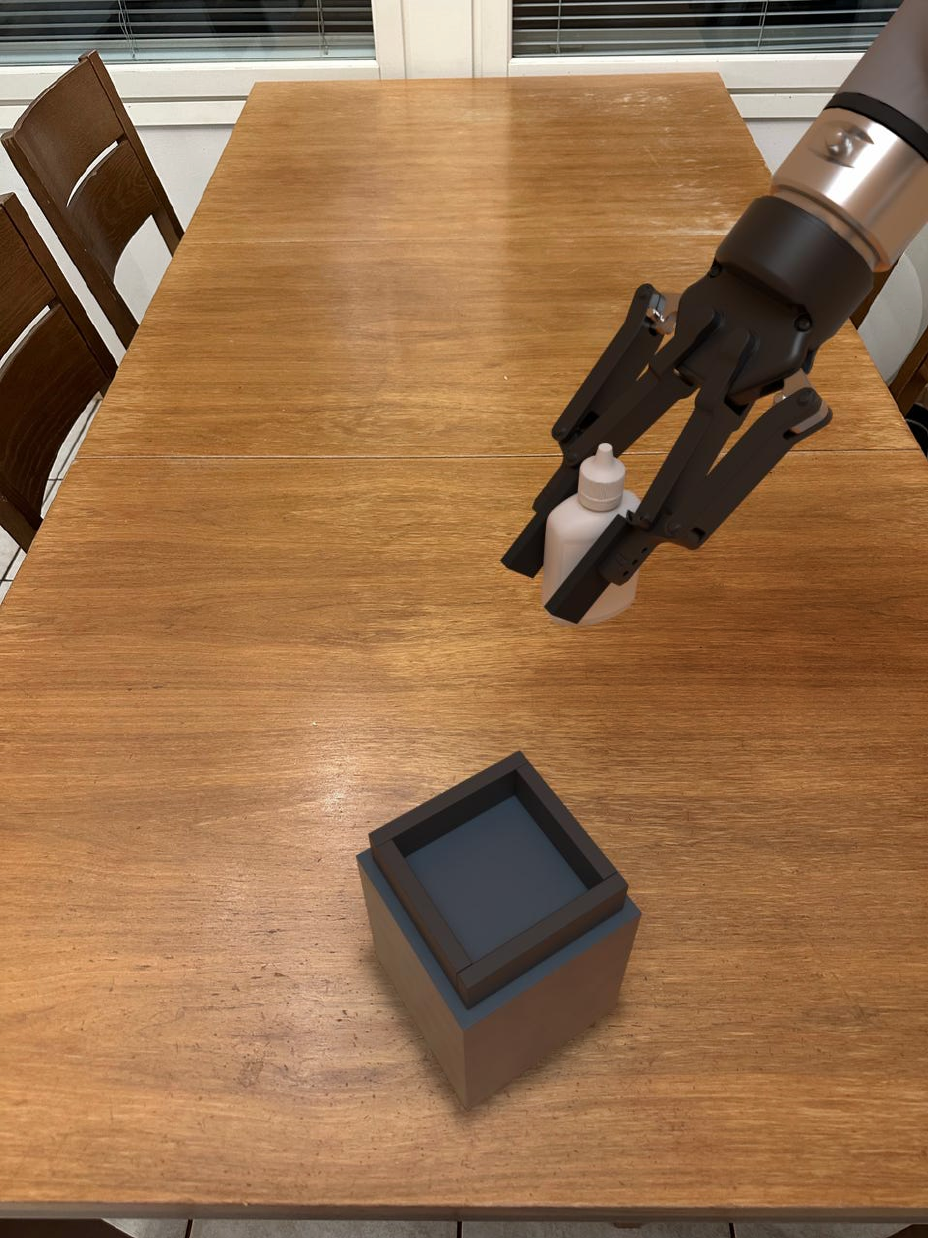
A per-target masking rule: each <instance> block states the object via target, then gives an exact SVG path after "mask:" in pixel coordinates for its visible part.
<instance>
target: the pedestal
mask: <svg viewBox="0 0 928 1238" xmlns="http://www.w3.org/2000/svg"><path fill="white" fill-rule="evenodd" d="M367 835H368V841H369V846H370V847H368V848H366V849H365V850H363V851H361V852H360V853H359V852H358V854H356V855H355V859H356V863H357V869H358V874H359V878H360V883H361V888H362V893H363V897H364V903H365V907H366V912H367V916H368V921H369V927H370V931H371V935H372V940H373V941H372V942H373V945H374V951H375V954H376V958H377V960H378V961H379V963H380V965H381V966H382V968H383V970H384V972H385V974H386V976H387V977H388V979H389V981H390V982H391V984H392V986H393V987H394V989H395V991H396V992H397V994H398V996H399V998H400V999H401V1001H402V1003H403V1005H404V1006H405V1008H406V1010H407V1012H408V1013H409V1015H410V1017H411V1018H412V1021H414V1024H415V1025H416V1027H417V1028H418V1030H419V1032H420V1034H421V1035H422V1038H423V1039H424V1041H425V1042H426V1044H427V1046H428V1047H429V1050H430V1051H431V1053H432V1054H433V1056H434V1057H435V1060H436V1061H437V1063H438V1065H439V1066H440V1068H441V1070H442V1071H443V1073H444V1074H445V1075H444V1076H445V1077H446V1078H447V1080H448V1082H449V1083H450V1085H451V1087H452V1089H453V1090H454V1092H455V1094H456V1095H457V1097H458V1099H459V1101H460V1102H461V1104H462V1106H463V1108H464V1110H465V1111H466V1112H469V1111H471V1110H472V1109H474V1107H476V1106H478V1105H479V1104H481V1103H482V1102H483V1101H485V1100H486V1099H488V1098H489V1097H491V1096H492V1095H494V1094H495V1093H496V1092H497V1091H499V1090H501V1089H502V1088H503V1087H505V1086H506V1085H508V1084H509V1083H511V1082H512V1081H513V1080H515V1079H516V1078H518V1077H519V1076H521V1075H522V1074H524V1073H525V1072H526V1071H528V1070H529V1069H531V1068H532V1067H534V1066H535V1065H536V1064H538V1063H540V1061H542V1060H543V1059H545V1058H547V1056H549V1055H551V1054H552V1053H553V1052H555V1051H556V1050H557V1049H559V1048H560V1047H562V1046H564V1045H565V1044H566V1043H568V1042H569V1041H571V1040H572V1039H574V1038H575V1037H576V1036H578V1035H579V1034H580V1033H582V1032H584V1031H585V1030H587V1029H588V1028H589V1027H590V1026H592V1025H594V1024H595V1023H597V1022H598V1021H599V1020H601V1019H603V1018H604V1017H605V1016H606V1015H608V1014H609V1013H610V1012H612V1011H613V1010H615V1009H616V1006H617V1002H618V999H619V996H620V992H621V987H622V985H623V980H624V977H625V974H626V971H627V967H628V964H629V960H630V956H631V954H632V950H633V946H634V942H635V939H636V935H637V932H638V928H639V926H640V921H641V919H642V915H643V912H642V911H641V910H640V909H639V907H638V906H637V905H636V903H635V902H634V901H633V900H632V898H631V897H630V896H629V895H628V890H629V887H630V886H629V885H630V884H629V883H628V882H627V881H626V880H625V878H624V877H623V875H622V874H621V873H620V872H619V871H618V869H617V868H616V866H615V865H614V864H613V863H612V862H611V860H610V859H609V858H608V857H607V855H606V854H605V853H604V852H603V851H602V850H601V848H600V847H599V846H598V844H597V843H596V842H595V840H593V838H592V837H591V836H590V835H589V833H588V832H587V831H586V830H585V828H584V827H583V826H582V824H580V822H579V821H578V820H577V818H576V817H575V816H574V815H573V814H572V812H571V811H570V810H569V808H568V807H567V806H566V805H565V804H564V803H563V801H562V800H561V798H559V796H558V795H557V794H556V793H555V791H554V790H553V789H552V788H551V786H550V785H549V784H548V783H547V782H546V780H545V779H544V778H543V777H542V775H541V774H540V773H539V771H538V770H537V769H536V768H535V767H534V766H533V764H532V763H531V762H530V761H529V759H528V758H527V757H526V756H525V754H524V753H523V752H522V751H521V749H518V750H517V751H515V752H513V753H511V754H509V755H508V756H506V757H504V758H502V759H501V760H499V761H497V762H495V763H493V764H491V765H490V766H487V767H486V768H484V769H483V770H480V771H479V772H476V773H475V774H473V775H472V776H470V777H468V778H466V779H464V780H463V781H461V782H459V783H457V784H455V785H454V786H451V787H450V788H447V789H446V790H444V791H443V792H441V793H439V794H437V795H436V796H435V795H434V797H431V798H430V799H428V800H426V801H425V802H423V803H421V804H419V805H417V806H416V807H414V808H412V809H409V810H408V811H406V812H405V813H402V814H401V815H399V816H397V817H396V818H394V819H392V820H390V821H389V822H387V823H385V824H382V825H381V826H379V827H377V828H376V829H374V830H372V831H370V832H368V833H367Z"/></svg>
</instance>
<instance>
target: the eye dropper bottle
mask: <svg viewBox="0 0 928 1238" xmlns="http://www.w3.org/2000/svg"><path fill="white" fill-rule="evenodd" d="M626 471H627V469H626V466H625V464H624V463H623V462H622V461H621V460H620V459H619V458H617V459H616V458H614V457H613V451H612V446H611V445H610V444H607V443H603V444H600V445H599V447H598V450H597V453H596V455H595V456H592V457H589V458H587V459H586V460H584V461H583V463H582V464H581V466H580V474H579V485H578V493H576V494H575V495H573V496H571V497H569V498H568V499H566V500H565V501H563V502H562V503H561V504H559V505H558V506H557V507H556V508H555V509H554V510H552V512H551V513H550V515H549V516H548V519H547V524H546V535H545V549H544V564H543V567H542V582H541V583H542V584H541V596H540V597H541V600H540V601H541V605H542V608H543V610H544V612H545V613H546V615H547V616H548V618H549V620H550V621H551V622H552V623H553V624H554V625H556V626H559V627H582V626H591V625H594V624H599V623H602V622H605V621H608V620H610V619H612V618H615V617H617V616H618V615H621V614H622V613H623V612H625V611H626V610H627V609H629V608H630V607H631V606H632V605H633V603H634V601H635V599H636V595H637V588H638V583H639V578H640V577H639V576H640V570H641V566H640V567H639V569H638V570H637V571H636V572H635V573H634V575H633V576H632V577H631V578H630V579H629V581H628V582H626V583H625V584H623V585H621V586H618V585H616V584H613V583H610V585H609V586H608V587H607V588H606V590H605V591H604V592H603V593H602V594H601V596H600V597H599V598H598V599H597V601H596V602H595V603H594V604H593V606H592V607H591V608H590V609H589V610H588V612H587V613H586V614H585V615H584V617H583V618H582V619H581V620H580V622H579V623H578V624H575V623H572V622H569V621H566V620H563V619H561V618H558V617H555V616H552V615H551V614H550V613H549V612H548V611H547V610H546V609H545V608H544V606H545V604H546V603H547V602H548V601H549V599H550V598H551V597H552V596H553V594H554V593H555V592H556V591H557V589H558V588H559V587H560V586H561V584H562V583H563V582H564V581H565V579H566V578H567V577H568V576H569V574H570V573H571V572H572V571H573V569H574V568H575V567H576V565H577V564H578V563H579V562H580V560H581V559H582V558H583V557H584V555H585V554H586V553H587V552H588V550H589V549H590V548H591V547H592V545H593V544H594V543H595V542H596V540H597V539H598V538H599V537H600V535H601V534H602V533H603V532H604V530H605V529H606V528H607V527H608V525H609V524H610V523H611V521H612V520H613V519H614V518H615V516H616V515H617V514H620V515H621V516H623V517H625V518H626V513H627V510H630V511H632V512H634V513H635V512H636V510H637V508H638V506H639V505H640V503H641V501H642V500H641V499H640V498H639V496H638V495H637V494H636V493H634V492H633V491H631V490H628V489H625V488H624V487H625V480H626V473H627V472H626Z"/></svg>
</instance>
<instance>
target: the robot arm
mask: <svg viewBox="0 0 928 1238" xmlns="http://www.w3.org/2000/svg"><path fill="white" fill-rule="evenodd" d="M768 188H769V194H770V195H769V194H768V195H767V194H766V195H762V196H760V197H756V198H754V199H753V200H752V201H751V203H750V204H749V205H748V207H746V209H745V211H743V213H742V215H741V216H740V217H739V218H738V220H737V221H736V222H735V223H734V225H733V226H732V228H731V229H730V230H729V232H727V234H726V235H725V237H724V238H723V239H722V240H721V242H720V243H719V245H718V246H717V248H716V249H715V253H714V257H713V260H712V264H711V266H710V268H709V270H708V271H707V272H706V273H705V274H704V275H703V276H702V277H701V278H699V279H698V280H697V281H695V282H693V283H691V284H690V285H689V286H687V287H686V288H685V289H684V290H683V292H682V293H679V292H664V291H663V292H662V291H659V290H658V289H656V288H655V286H654V285H653V284H652V283H649V282H645V283H642V284H641V285H638V287H637V288H636V290H635V292H634V294H633V296H632V300H631V302H630V306H629V308H628V311H627V314H626V317H625V319H624V322H623V323H622V324H621V327H620V328H619V329H618V331H617V332H616V334H615V335H614V337H613V338H612V339H611V341H610V342H609V344H608V346H607V347H606V348H605V349H604V351H603V352H602V353H601V356H600V357H599V358H598V360H597V361H596V363H595V364H594V366H593V367H592V368H591V370H590V372H589V373H588V374H587V375H586V377H585V378H584V380H583V382H582V383H581V385H580V386H579V388H578V389H577V391H576V392H575V393H574V395H573V396H572V398H571V399H570V401H569V402H568V404H567V405H566V407H565V408H564V410H563V411H562V412H561V414H560V416H559V417H558V418H557V420H556V421H555V422H554V424H553V426H552V428H551V432H550V434H551V437H552V439H553V440H554V441H556V442H557V444H558V446H559V448H560V451H561V454H562V462H561V464H560V465H559V467H558V469H556V471H555V472H554V474H553V475H552V476H551V478H550V479H549V480H548V482H547V483H546V484H545V486H544V487H543V488H542V489H541V491H540V492H539V494H538V495H537V496H536V497H535V499H534V501H533V504H532V507H531V509H532V510H533V511H534V512H535V514H534V515H533V516H532V518H531V519H530V521H529V522H528V523H527V525H525V527H524V529H522V531H521V532H520V534H519V535H518V536H517V537H516V539H515V540H514V541H513V543H512V544H511V545H510V547H509V548H508V549H507V551H505V553H504V554H503V556H502V557H501V558H500V560H499V562H500V563H501V564H502V565H503V566H505V568H506V569H507V570H510V571H512V572H515V573H517V574H520V575H523V576H525V577H528V578H530V579H531V580H533V579H534V578H535V577H536V576H537V574H538V573H539V572H540V571H541V569H543V564H544V549H545V535H546V524H547V519H548V516H549V515H550V513H551V512H552V510H554V509H555V508H556V507H557V506H558V505H559V504H561V503H562V502H563V501H565V500H566V499H568V498H569V497H571V496H573V495H575V494H576V493H578V485H579V474H580V466H581V464H582V463H583V461H584V460H586V459H587V458H589V457H592V456H595V455H596V453H597V450H598V447H599V445H600V444H603V443H607V444H610V445H611V446H612V451H613V457H614V458H616V459H619V457H621V456H622V455H623V454H624V453H625V452H626V451H627V450H628V449H629V448H630V447H631V446H632V445H633V444H634V443H636V441H638V439H640V438H641V437H642V436H643V435H644V434H645V433H646V432H648V430H649V429H650V428H651V427H652V426H653V425H654V424H655V423H657V421H658V420H660V419H661V418H662V417H663V416H664V415H665V414H666V413H667V412H668V411H670V409H671V408H672V407H673V406H674V405H675V404H676V403H678V402H679V401H680V400H686V399H688V398H690V397H691V396H693V394H695V392H696V391H697V390H698V392H697V393H696V395H695V396H694V397H695V398H694V409H693V411H692V413H691V414H690V416H689V418H688V420H687V421H686V423H685V425H684V427H683V428H682V430H681V431H680V434H679V435H678V437H677V439H676V441H675V442H674V444H673V445H672V447H671V449H670V451H669V452H668V454H667V455H666V458H665V459H664V461H663V463H662V465H661V466H660V468H659V470H658V471H657V473H656V475H655V477H654V479H653V481H652V482H651V484H650V486H649V487H648V489H647V491H646V493H645V494H644V496H643V498H642V500H641V503H640V505H639V506H638V508H637V510H636V512H635V513H634V512H632V511H630V510H627V513H626V518H625V517H623V516H621V515H620V514H617V515H616V516H615V518H614V519H613V520H612V521H611V523H610V524H609V525H608V527H607V528H606V529H605V530H604V532H603V533H602V534H601V535H600V537H599V538H598V539H597V540H596V542H595V543H594V544H593V545H592V547H591V548H590V549H589V550H588V552H587V553H586V554H585V555H584V557H583V558H582V559H581V560H580V562H579V563H578V564H577V565H576V567H575V568H574V569H573V571H572V572H571V573H570V574H569V576H568V577H567V578H566V579H565V581H564V582H563V583H562V584H561V586H560V587H559V588H558V589H557V591H556V592H555V593H554V594H553V596H552V597H551V598H550V599H549V601H548V602H547V603H546V604H545V606H544V607H543V609H544V608H545V609H546V610H547V611H548V612H549V613H550V614H551V615H552V616H555V617H558V618H561V619H563V620H566V621H569V622H572V623H575V624H578V623H579V622H580V620H581V619H582V618H583V617H584V615H585V614H586V613H587V612H588V610H589V609H590V608H591V607H592V606H593V604H594V603H595V602H596V601H597V599H598V598H599V597H600V596H601V594H602V593H603V592H604V591H605V590H606V588H607V587H608V586H609V585H610V583H613V584H616V585H618V586H621V585H623V584H625V583H626V582H628V581H629V579H630V578H631V577H632V576H633V575H634V573H635V572H636V571H637V570H638V569H639V567H640V568H641V566H642V565H643V564H644V563H645V561H646V560H647V559H648V558H649V557H650V555H651V554H652V553H653V552H654V550H655V549H656V548H657V547H659V545H662V544H664V543H669V544H672V545H676V546H679V547H682V548H685V549H687V550H689V551H696V550H698V549H700V548H701V547H702V546H703V545H704V544H705V543H706V542H707V541H708V539H710V537H712V535H713V534H714V533H715V532H717V530H718V529H719V528H720V527H721V525H722V524H723V523H724V522H725V521H727V519H728V518H729V517H730V516H731V515H732V513H733V512H734V511H735V510H736V509H737V508H738V507H739V506H740V504H741V505H742V502H743V501H745V499H746V498H748V496H750V494H751V493H752V492H753V491H754V490H755V488H756V487H758V485H759V484H760V483H761V482H762V481H763V480H764V479H765V478H766V477H767V475H769V473H770V472H771V471H772V470H773V469H774V468H775V467H776V466H777V465H778V463H780V461H782V460H783V458H784V457H785V456H786V455H788V453H789V451H791V450H792V448H794V447H795V445H796V444H798V443H800V442H802V441H804V440H805V439H807V438H809V437H810V436H812V435H814V434H815V433H817V432H819V431H820V430H822V429H823V428H825V427H827V426H828V425H829V424H830V423H831V422H832V420H833V417H834V412H833V409H832V408H831V407H830V406H829V404H828V403H827V402H826V401H825V400H824V398H823V397H821V396H820V394H819V393H818V392H817V390H816V388H815V386H814V385H813V383H812V380H811V378H810V377H809V374H810V373H811V371H812V369H813V368H814V367H813V366H814V362H815V359H816V355H817V353H818V351H819V350H820V348H821V346H822V345H823V344H825V342H827V341H828V340H830V339H832V338H833V337H834V336H835V335H837V333H838V332H839V331H840V329H841V328H842V327H843V326H844V324H845V323H846V322H847V321H848V320H849V318H850V317H851V316H852V315H853V314H854V312H855V311H856V310H857V309H858V307H859V306H860V305H861V304H862V303H863V302H864V300H865V299H866V297H868V295H869V294H870V293H871V291H873V289H874V281H875V277H874V273H882V272H887V271H889V270H890V269H891V268H892V267H893V265H894V264H895V263H896V262H897V260H898V259H899V258H900V257H901V255H902V254H903V253H904V252H905V251H906V249H907V248H908V247H909V246H910V244H911V243H912V242H913V241H914V240H915V238H916V237H917V235H918V234H919V233H920V232H921V231H922V229H923V228H924V227H925V226H926V224H927V223H928V0H903V1H902V3H901V4H900V5H899V7H898V8H897V9H896V11H895V12H894V13H893V15H892V16H891V18H889V20H888V21H887V23H886V24H885V25H884V26H883V28H882V30H880V32H879V34H878V35H877V36H876V38H875V39H874V40H873V42H872V43H871V44H870V46H869V47H868V48H867V49H866V51H865V53H864V54H863V55H862V56H861V58H860V59H859V60H858V61H857V63H856V65H855V66H854V67H853V68H852V70H851V71H850V73H848V75H847V76H846V78H845V79H844V81H843V82H842V83H841V84H840V86H839V88H838V89H837V90H836V92H835V93H834V94H833V95H832V97H831V98H830V99H829V101H828V102H827V104H826V105H825V106H824V107H823V109H822V110H821V112H820V113H819V114H818V116H817V117H816V118H815V119H814V120H813V122H812V123H811V124H810V126H809V127H808V129H806V131H805V133H804V134H803V135H802V136H801V138H800V139H799V140H798V142H797V143H796V144H795V146H794V147H793V148H792V150H791V151H790V153H789V154H788V155H787V156H786V157H785V159H784V160H783V161H782V162H781V164H780V165H779V167H778V168H777V169H776V170H775V172H774V173H773V174H772V176H771V177H770V178H769V182H768ZM674 325H675V326H674ZM673 332H674V333H673ZM671 334H673V336H672V337H671V338H670V339H669V340H668V341H667V342H666V343H665V344H664V345H663V346H662V347H661V348H660V346H661V344H662V343H663V341H664V338H665V335H667V336H670V335H671ZM646 367H647V368H646ZM645 369H646V371H645ZM644 371H645V372H644ZM643 372H644V373H643ZM773 394H775V395H774V396H773V399H772V401H773V402H772V405H771V407H770V408H768V409H767V410H766V411H765V412H763V413H762V414H761V415H760V416H759V417H758V418H757V419H756V420H755V421H754V422H753V423H752V424H751V426H750V427H748V429H747V430H746V431H745V432H744V433H743V435H741V437H740V438H739V439H738V440H737V441H736V442H735V444H733V446H731V448H730V449H729V450H728V451H727V452H726V454H725V455H723V457H722V458H721V459H720V460H719V461H718V462H717V463H716V464H715V462H716V460H717V459H718V457H719V455H720V453H721V452H722V450H723V448H724V447H725V445H726V443H727V441H728V440H729V438H730V436H731V435H732V434H733V433H734V432H737V431H739V430H740V428H741V427H742V425H743V424H744V422H745V420H746V419H747V417H748V415H749V414H750V413H751V410H752V408H753V407H754V406H755V403H756V402H757V400H760V399H763V398H765V397H767V396H770V395H773ZM714 464H715V466H714ZM712 467H713V468H712ZM545 609H544V610H545Z"/></svg>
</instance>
